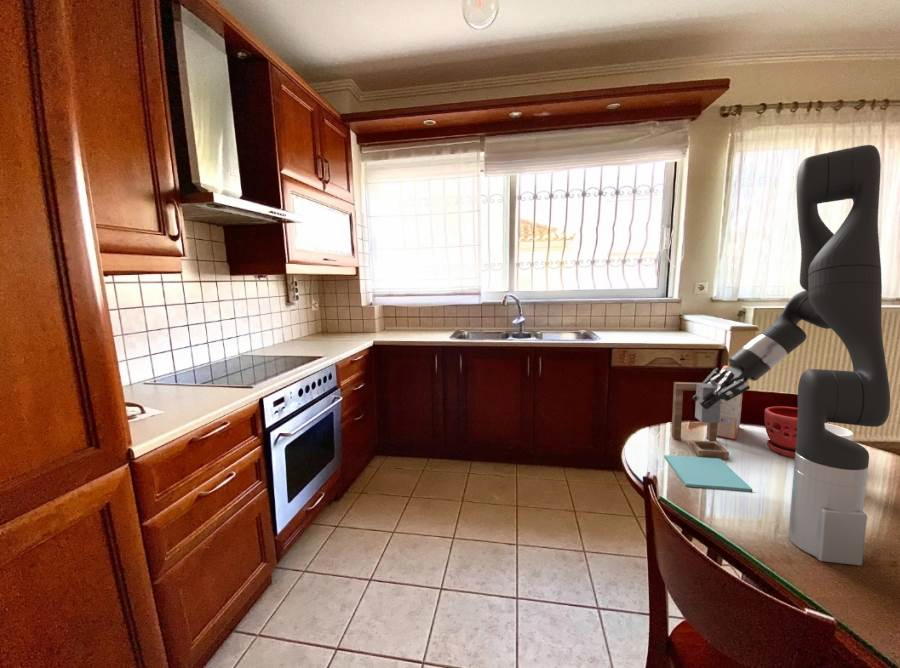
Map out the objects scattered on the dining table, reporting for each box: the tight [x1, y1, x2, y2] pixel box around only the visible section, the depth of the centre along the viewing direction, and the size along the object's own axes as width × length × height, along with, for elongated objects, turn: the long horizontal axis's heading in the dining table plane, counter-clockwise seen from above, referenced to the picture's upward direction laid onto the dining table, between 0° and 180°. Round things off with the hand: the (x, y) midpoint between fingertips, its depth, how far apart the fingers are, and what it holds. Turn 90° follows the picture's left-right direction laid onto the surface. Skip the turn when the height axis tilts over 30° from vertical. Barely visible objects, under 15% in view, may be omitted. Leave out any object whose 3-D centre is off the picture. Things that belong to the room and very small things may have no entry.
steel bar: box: [694, 382, 721, 424], centre depth 96 cm, size 4×4×9 cm
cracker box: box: [717, 365, 744, 441], centre depth 123 cm, size 14×6×21 cm, turn 139°
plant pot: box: [763, 406, 828, 459], centre depth 107 cm, size 13×13×12 cm
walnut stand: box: [671, 381, 730, 460], centre depth 112 cm, size 15×12×18 cm
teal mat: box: [663, 454, 753, 492], centre depth 98 cm, size 16×14×1 cm
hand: (699, 403), depth 96 cm, fingers closed on steel bar, 4 cm apart
